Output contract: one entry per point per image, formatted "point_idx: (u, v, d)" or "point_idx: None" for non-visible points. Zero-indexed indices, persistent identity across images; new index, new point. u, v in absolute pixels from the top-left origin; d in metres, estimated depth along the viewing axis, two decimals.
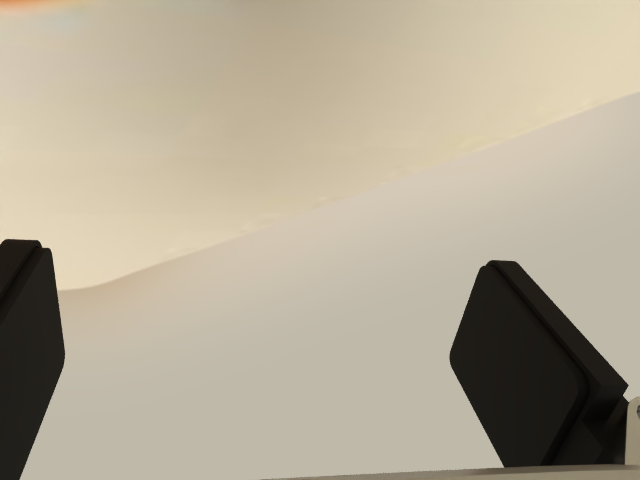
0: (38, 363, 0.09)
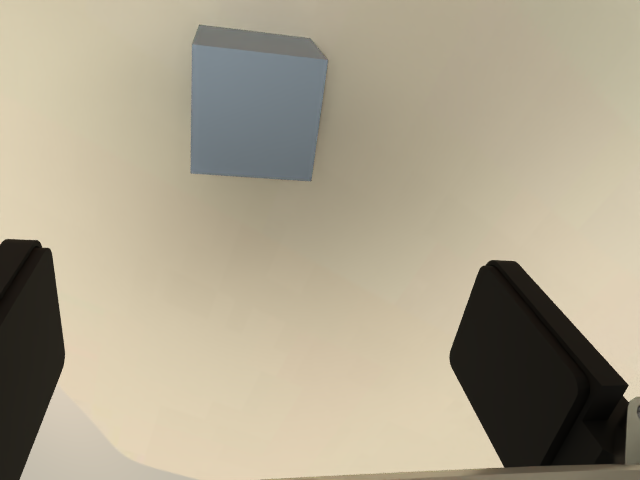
0: (38, 363, 0.09)
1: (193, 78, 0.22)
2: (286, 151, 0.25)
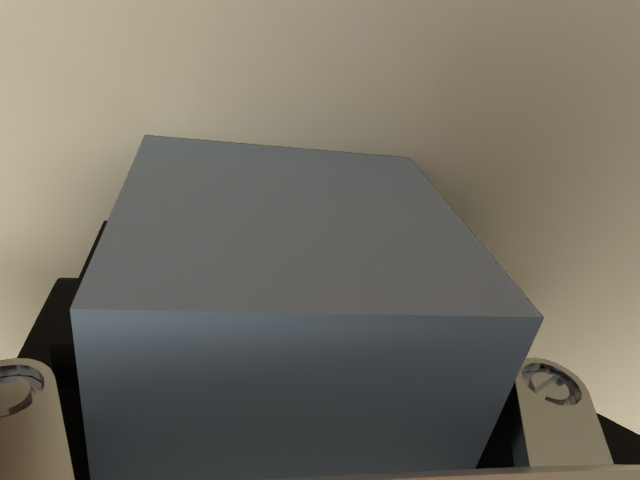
0: None
1: (86, 400, 0.06)
2: None
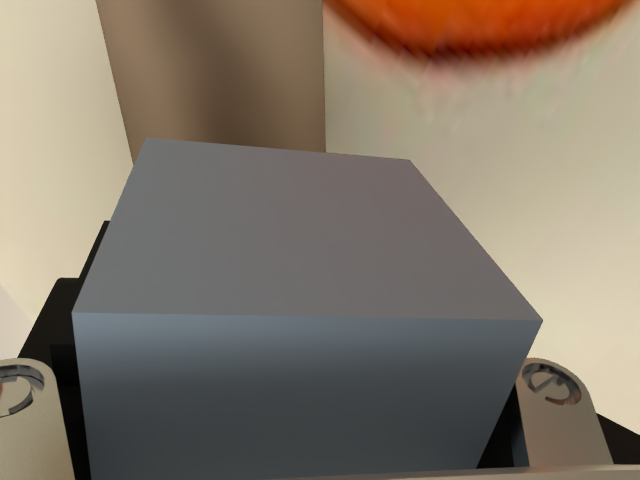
0: None
1: (88, 403, 0.06)
2: None
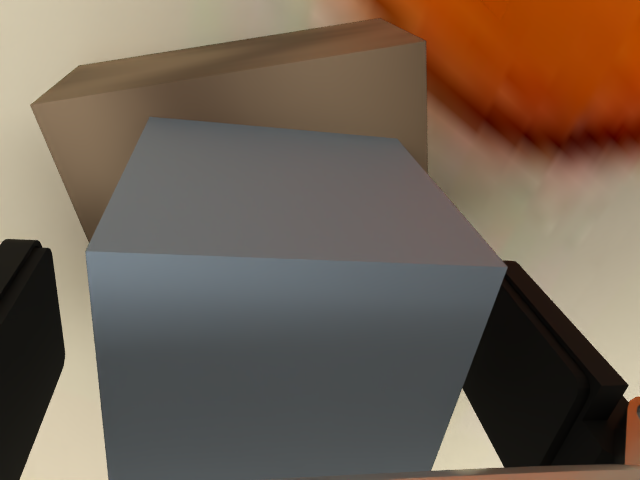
0: (38, 363, 0.09)
1: (99, 338, 0.07)
2: (363, 464, 0.10)
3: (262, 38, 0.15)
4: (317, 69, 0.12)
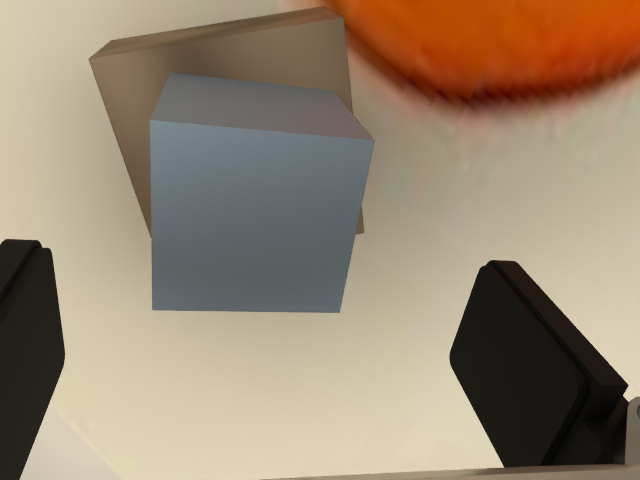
0: (38, 363, 0.09)
1: (153, 172, 0.13)
2: (302, 274, 0.16)
3: (240, 20, 0.21)
4: (273, 35, 0.18)
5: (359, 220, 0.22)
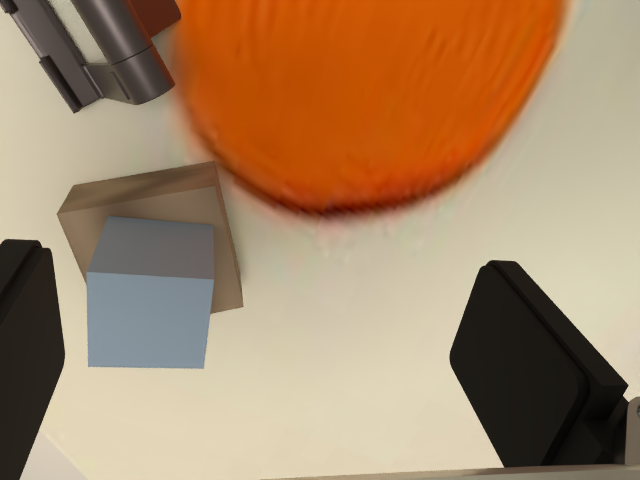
0: (38, 363, 0.09)
1: (88, 296, 0.25)
2: (178, 347, 0.27)
3: (158, 172, 0.32)
4: (171, 197, 0.29)
5: (239, 299, 0.34)
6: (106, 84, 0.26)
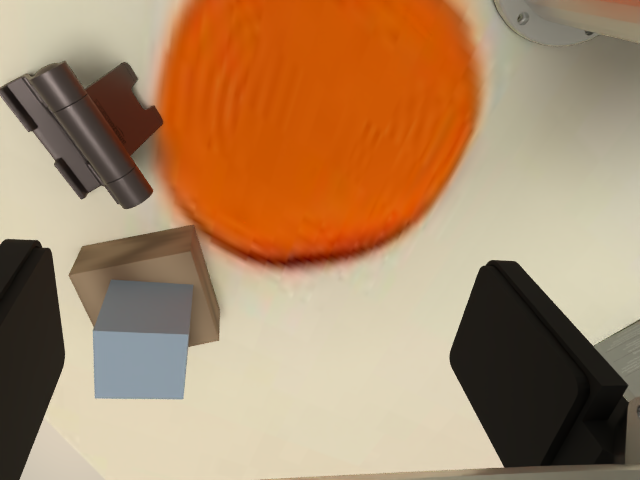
0: (38, 363, 0.09)
1: (94, 348, 0.33)
2: (163, 383, 0.36)
3: (148, 235, 0.41)
4: (156, 260, 0.38)
5: (215, 334, 0.42)
6: (104, 184, 0.34)
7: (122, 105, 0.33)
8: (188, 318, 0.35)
